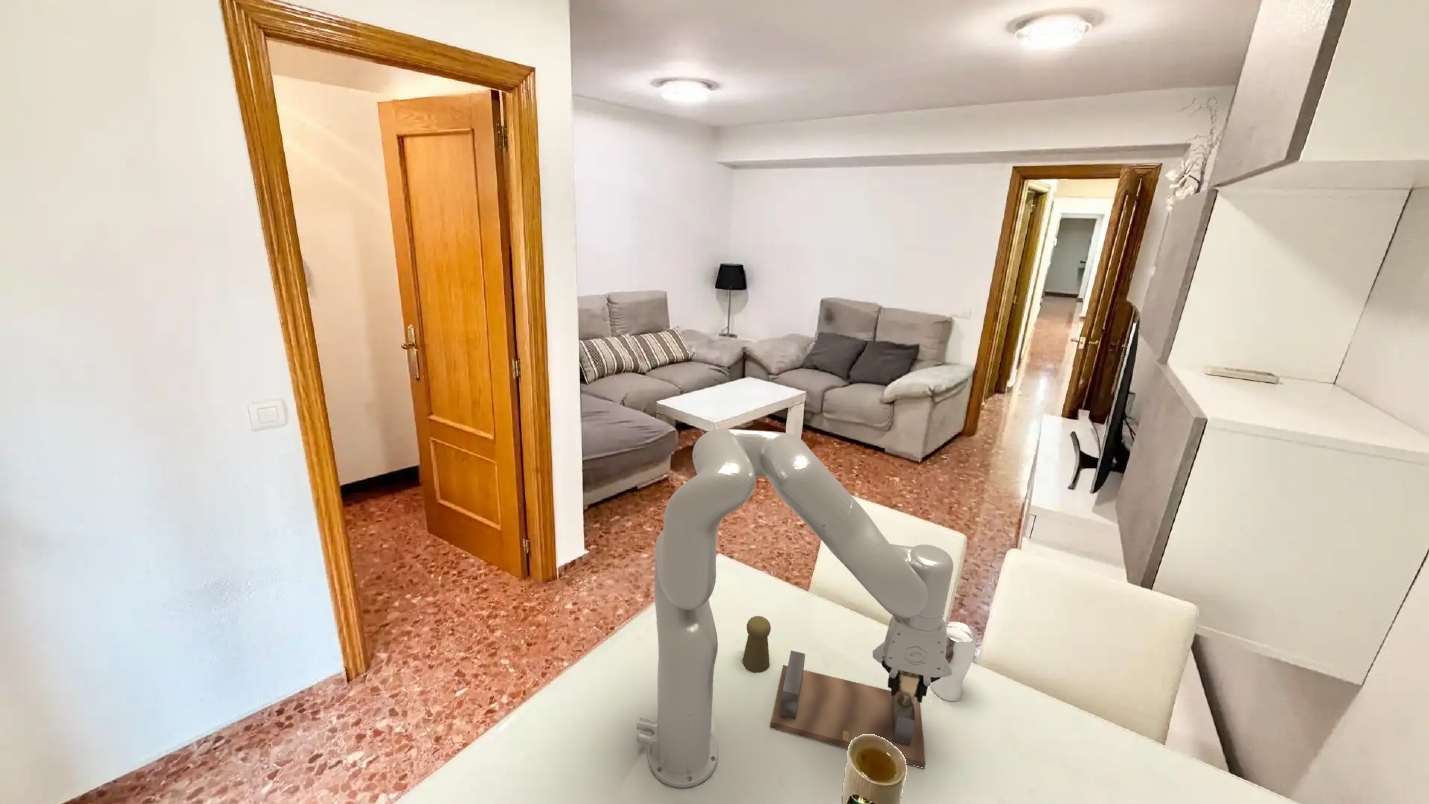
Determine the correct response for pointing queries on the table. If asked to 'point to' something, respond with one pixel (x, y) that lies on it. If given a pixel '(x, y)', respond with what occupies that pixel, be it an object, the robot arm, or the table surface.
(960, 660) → the beer glass
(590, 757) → the table surface
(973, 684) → the table surface
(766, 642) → the olive brown pawn
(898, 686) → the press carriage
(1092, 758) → the table surface
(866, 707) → the base
